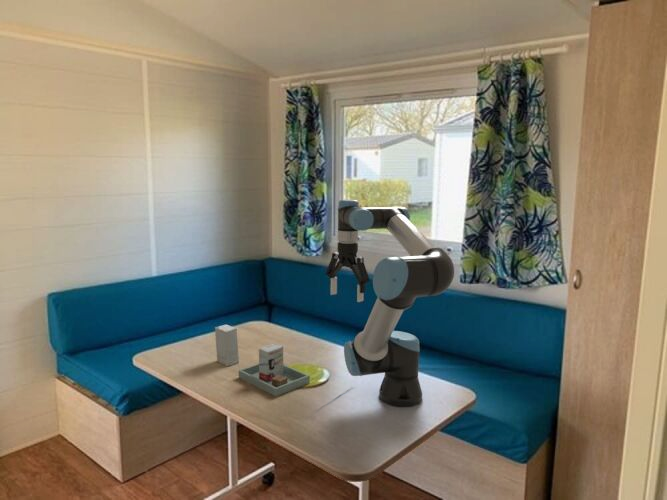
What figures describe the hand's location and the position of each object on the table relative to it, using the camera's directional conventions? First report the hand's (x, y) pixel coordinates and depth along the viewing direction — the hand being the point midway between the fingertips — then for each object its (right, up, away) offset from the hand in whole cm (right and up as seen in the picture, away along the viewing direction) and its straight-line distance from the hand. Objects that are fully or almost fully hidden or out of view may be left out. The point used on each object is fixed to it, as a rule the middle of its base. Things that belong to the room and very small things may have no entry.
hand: (346, 297), depth 188 cm
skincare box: (-49, -28, +19) cm, 59 cm away
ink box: (-29, -30, +2) cm, 42 cm away
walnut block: (-24, -32, -8) cm, 41 cm away
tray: (-27, -32, -1) cm, 42 cm away
